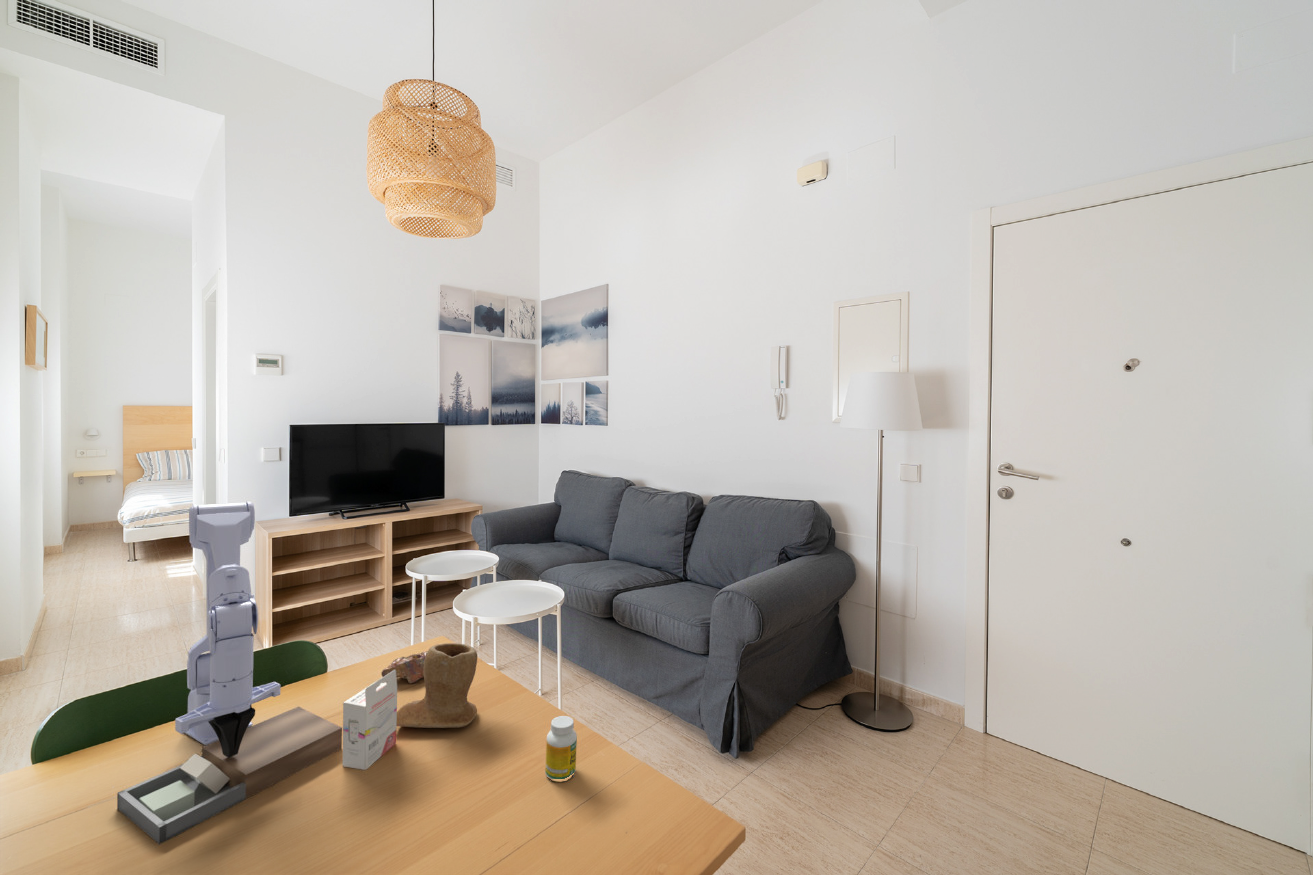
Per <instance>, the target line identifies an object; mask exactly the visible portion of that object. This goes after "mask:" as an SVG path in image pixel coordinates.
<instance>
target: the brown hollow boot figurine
mask: <svg viewBox="0 0 1313 875" xmlns="http://www.w3.org/2000/svg"><path fill="white" fill-rule="evenodd" d="M427 651H428V652H427V654H426V656H425V660H424V677H423V681H424V689H425V694H424V695H425V696H424V697H423V699H419V700H413V701H411V702H408V703H407V702H406V704H404V705H402V706H401V707H400V708H399V709H398V710H397V723H396V727H404V728H405V727H406V728H424V729H425V728H427V729H448V728H449V729H451V728H452V729H453V728H454V729H457V728H463V727H466V726H468V725H470V724H471V722H473V721H474V719H475V718H476V716H477V713H478V708H477V706H476V704H474V703H472V702H470V701H468V694H469V690H470V689H471V686H472V683H473V681H474V677H475V675H476V671H477V670H476V669H477V663H478V653H477V650H476V649H475V648H474V647H472V646H471V645H468V644H465V643H450V642H449V643H448V642H447V643H439V644H438V643H437V644H435V645H433V646H432V645H431V647H430V648H429V649H428V650H427Z"/></svg>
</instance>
